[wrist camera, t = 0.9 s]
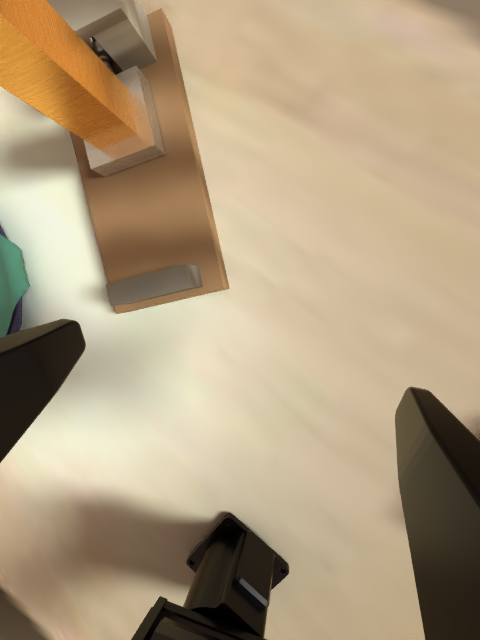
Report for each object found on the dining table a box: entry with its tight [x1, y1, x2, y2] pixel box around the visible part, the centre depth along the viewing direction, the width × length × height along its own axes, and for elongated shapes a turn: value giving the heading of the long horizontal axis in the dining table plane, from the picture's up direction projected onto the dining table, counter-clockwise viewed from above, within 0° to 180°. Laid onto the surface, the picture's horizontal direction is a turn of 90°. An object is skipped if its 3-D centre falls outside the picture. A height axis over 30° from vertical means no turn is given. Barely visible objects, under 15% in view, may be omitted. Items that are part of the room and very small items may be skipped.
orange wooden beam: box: [0, 0, 165, 177], centre depth 16 cm, size 11×5×11 cm, turn 13°
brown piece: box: [46, 0, 229, 314], centre depth 20 cm, size 19×9×6 cm, turn 13°
